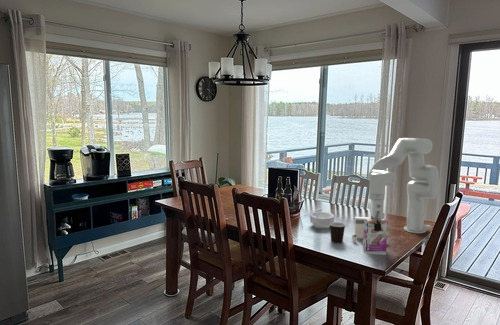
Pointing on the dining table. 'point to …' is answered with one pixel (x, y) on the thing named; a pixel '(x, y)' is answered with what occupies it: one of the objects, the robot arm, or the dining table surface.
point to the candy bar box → (375, 236)
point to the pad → (376, 252)
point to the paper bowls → (321, 219)
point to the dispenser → (360, 228)
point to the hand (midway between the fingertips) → (375, 227)
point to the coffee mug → (337, 232)
